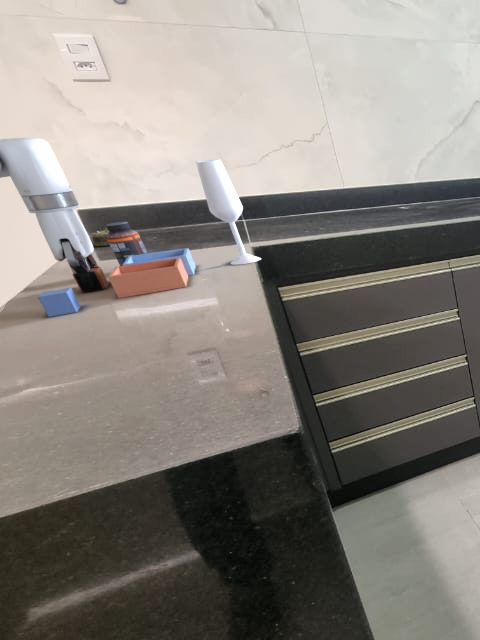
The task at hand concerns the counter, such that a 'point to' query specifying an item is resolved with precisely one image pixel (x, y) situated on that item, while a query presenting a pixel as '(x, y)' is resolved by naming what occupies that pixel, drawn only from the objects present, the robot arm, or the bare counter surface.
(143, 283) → the terracotta bin
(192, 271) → the blue bin
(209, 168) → the champagne flute
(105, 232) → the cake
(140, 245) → the supplement bottle
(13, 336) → the counter surface
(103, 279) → the terracotta block
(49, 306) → the slate-blue block
